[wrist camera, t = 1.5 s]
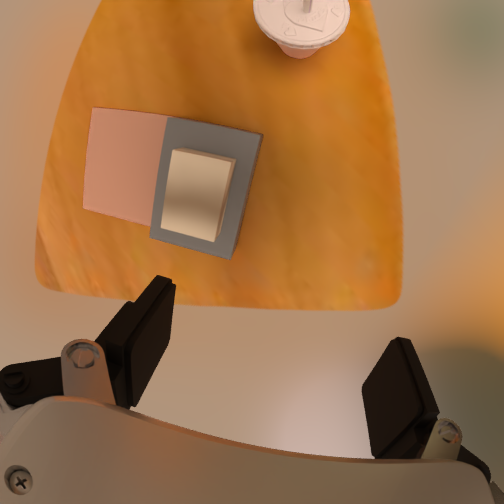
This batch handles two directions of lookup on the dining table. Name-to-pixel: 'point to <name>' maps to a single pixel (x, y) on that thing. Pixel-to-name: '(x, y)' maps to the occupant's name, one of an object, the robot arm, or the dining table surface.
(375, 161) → the dining table surface
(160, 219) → the plate
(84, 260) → the dining table surface
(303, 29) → the smoothie
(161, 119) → the mat
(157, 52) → the dining table surface
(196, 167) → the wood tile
